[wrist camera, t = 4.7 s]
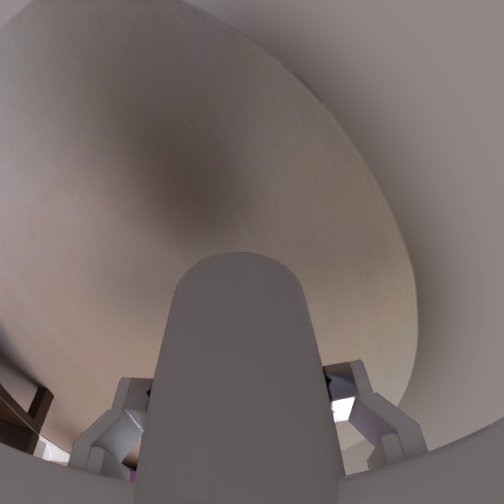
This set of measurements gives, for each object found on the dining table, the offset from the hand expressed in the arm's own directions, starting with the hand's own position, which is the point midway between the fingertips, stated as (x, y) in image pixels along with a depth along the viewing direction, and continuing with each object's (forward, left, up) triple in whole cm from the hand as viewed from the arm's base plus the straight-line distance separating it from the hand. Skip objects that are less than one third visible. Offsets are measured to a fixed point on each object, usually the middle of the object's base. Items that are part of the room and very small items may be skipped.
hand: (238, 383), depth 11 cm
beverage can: (0, 0, -5) cm, 5 cm away
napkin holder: (+39, -45, -9) cm, 61 cm away
